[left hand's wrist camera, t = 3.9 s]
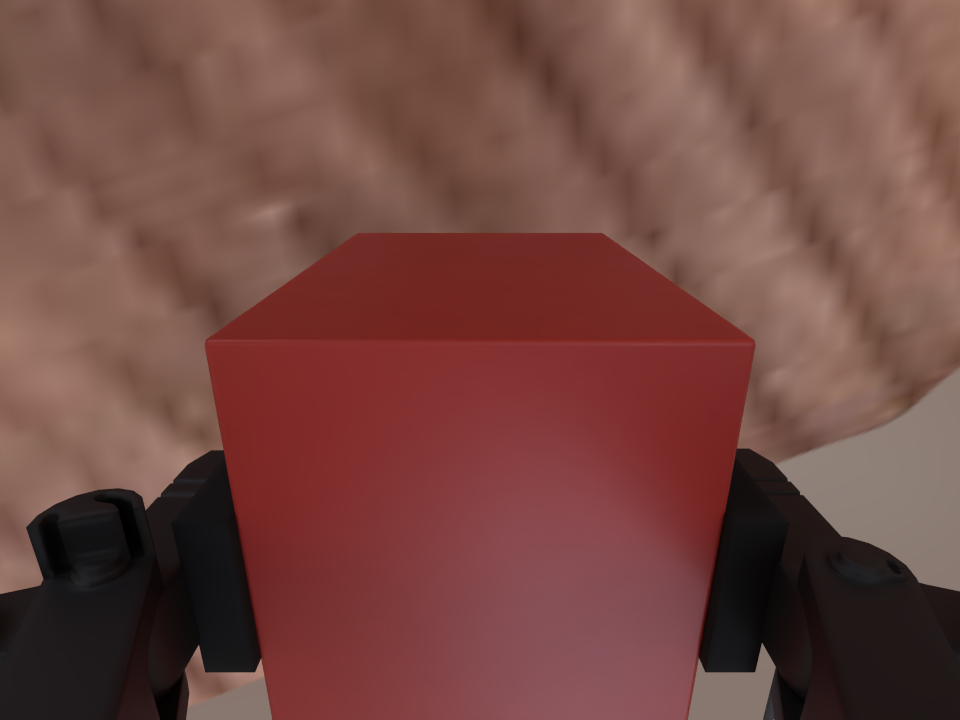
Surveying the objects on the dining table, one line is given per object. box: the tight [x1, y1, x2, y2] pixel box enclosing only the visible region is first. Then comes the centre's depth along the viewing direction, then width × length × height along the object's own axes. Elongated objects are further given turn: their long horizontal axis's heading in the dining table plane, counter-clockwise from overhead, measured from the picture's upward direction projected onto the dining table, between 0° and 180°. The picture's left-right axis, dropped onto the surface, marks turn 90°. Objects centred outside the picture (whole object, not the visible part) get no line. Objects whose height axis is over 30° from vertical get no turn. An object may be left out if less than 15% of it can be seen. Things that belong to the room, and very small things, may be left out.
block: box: [205, 233, 755, 720], centre depth 13 cm, size 7×8×9 cm
